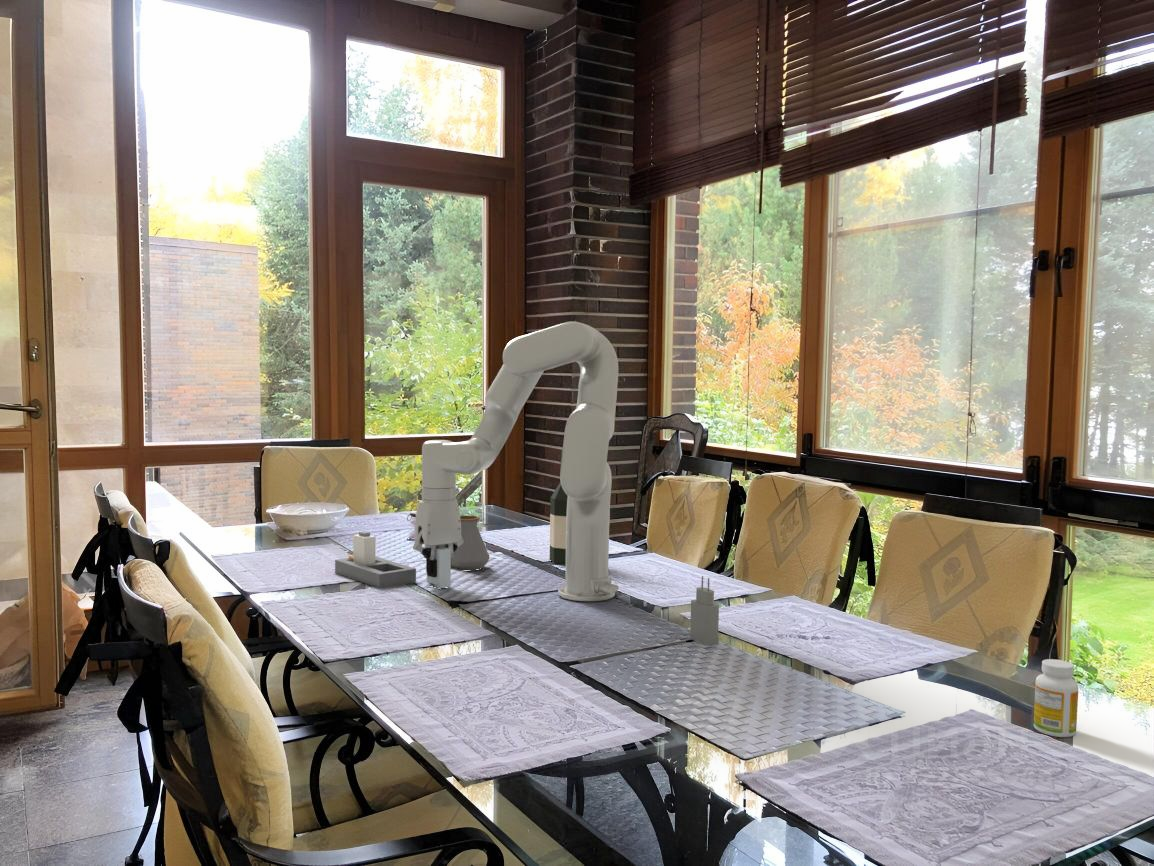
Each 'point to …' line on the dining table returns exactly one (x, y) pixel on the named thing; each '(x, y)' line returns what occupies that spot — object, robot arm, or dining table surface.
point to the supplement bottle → (1056, 699)
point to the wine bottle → (558, 524)
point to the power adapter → (704, 617)
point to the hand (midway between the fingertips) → (438, 574)
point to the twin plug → (364, 548)
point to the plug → (442, 568)
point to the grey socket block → (376, 572)
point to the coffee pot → (468, 546)
